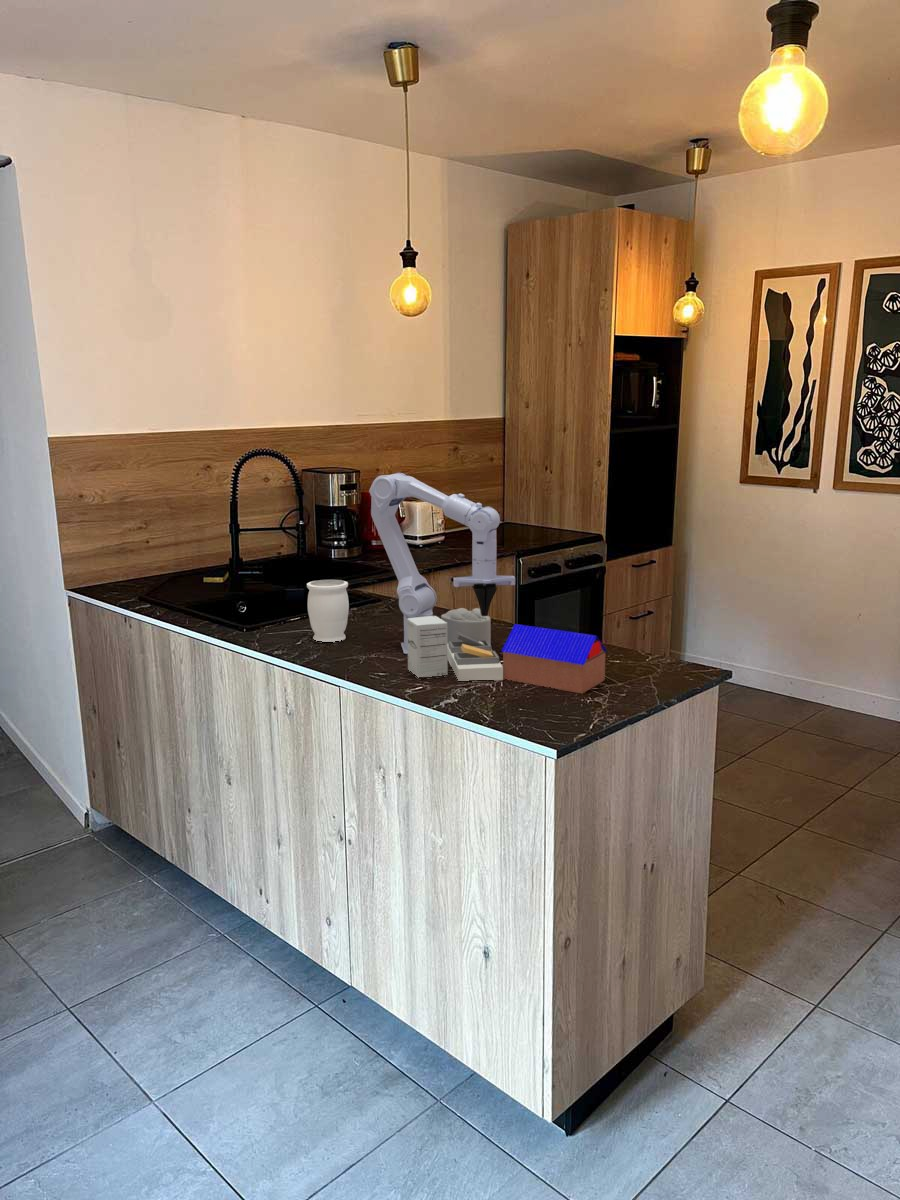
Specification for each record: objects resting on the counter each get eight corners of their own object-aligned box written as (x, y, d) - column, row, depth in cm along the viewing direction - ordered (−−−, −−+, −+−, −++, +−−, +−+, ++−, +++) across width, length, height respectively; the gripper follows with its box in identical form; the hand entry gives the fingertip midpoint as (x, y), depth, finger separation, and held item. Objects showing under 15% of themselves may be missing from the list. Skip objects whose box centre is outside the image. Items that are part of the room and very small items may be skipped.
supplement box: (407, 671, 211) (406, 617, 208) (437, 667, 214) (436, 614, 211) (417, 680, 204) (416, 624, 202) (448, 676, 207) (448, 621, 204)
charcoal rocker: (455, 634, 219) (457, 630, 218) (481, 646, 220) (483, 642, 220) (457, 638, 215) (459, 634, 215) (484, 650, 217) (486, 646, 216)
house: (527, 667, 214) (527, 618, 212) (606, 680, 203) (608, 629, 201) (501, 680, 204) (501, 629, 202) (583, 695, 194) (584, 641, 191)
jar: (302, 643, 236) (300, 585, 233) (317, 633, 246) (315, 578, 242) (341, 645, 233) (339, 587, 230) (355, 635, 243) (353, 579, 240)
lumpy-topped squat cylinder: (464, 635, 243) (464, 603, 241) (500, 644, 234) (500, 611, 232) (435, 643, 236) (435, 610, 234) (472, 652, 226) (472, 618, 225)
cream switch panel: (445, 655, 224) (445, 638, 223) (486, 653, 225) (486, 636, 224) (458, 682, 202) (458, 663, 202) (503, 680, 204) (503, 661, 203)
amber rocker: (460, 647, 209) (462, 643, 209) (489, 655, 210) (490, 651, 210) (463, 651, 206) (464, 647, 205) (492, 659, 207) (493, 655, 207)
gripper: (456, 562, 212) (456, 620, 215) (517, 561, 214) (517, 617, 217) (452, 557, 219) (452, 613, 222) (511, 556, 221) (511, 611, 224)
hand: (484, 615), depth 220 cm, fingers closed
